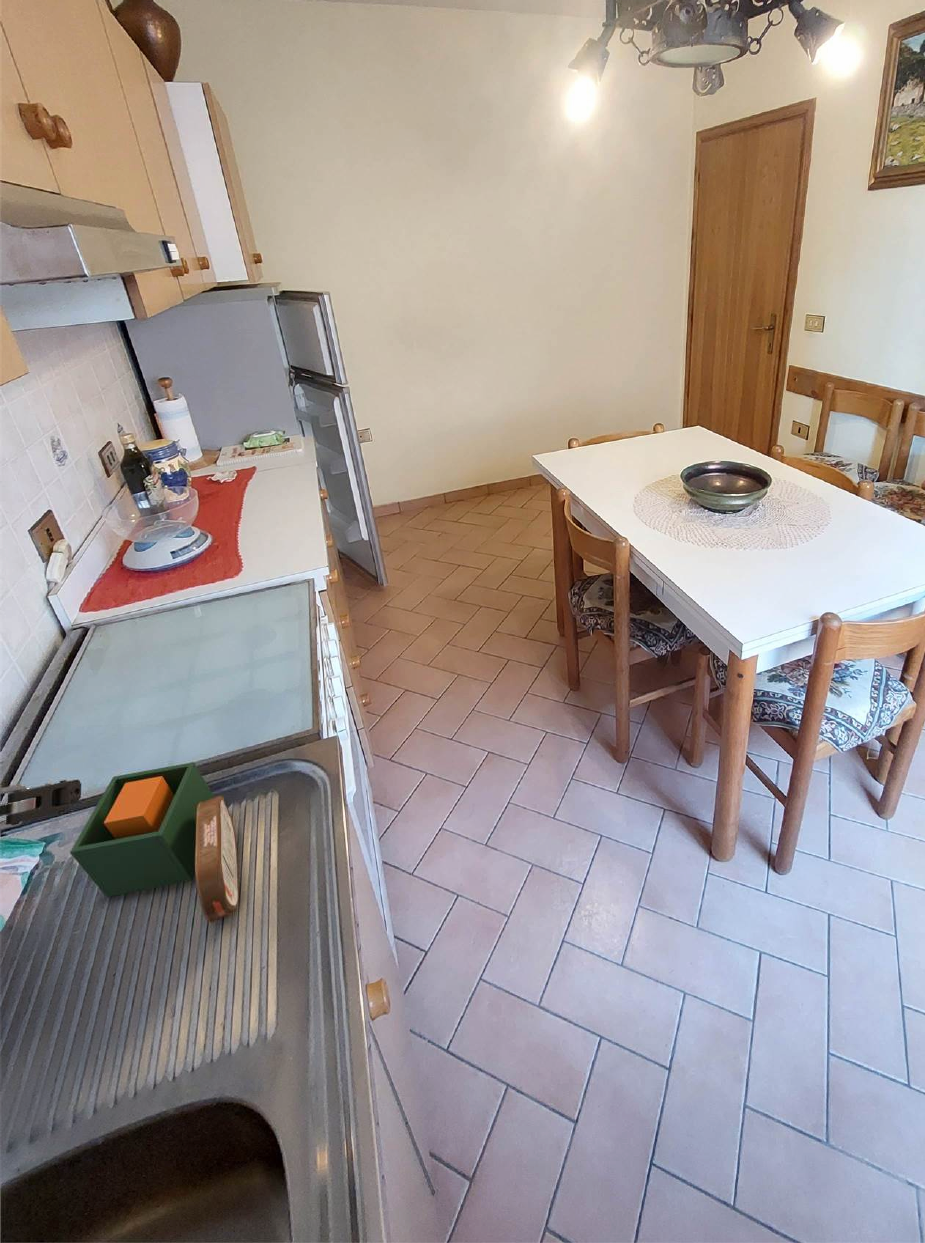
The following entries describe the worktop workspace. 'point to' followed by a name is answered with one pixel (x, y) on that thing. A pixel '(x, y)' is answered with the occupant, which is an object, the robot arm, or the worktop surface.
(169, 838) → the waste bin
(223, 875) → the tin
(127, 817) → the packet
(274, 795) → the worktop surface
